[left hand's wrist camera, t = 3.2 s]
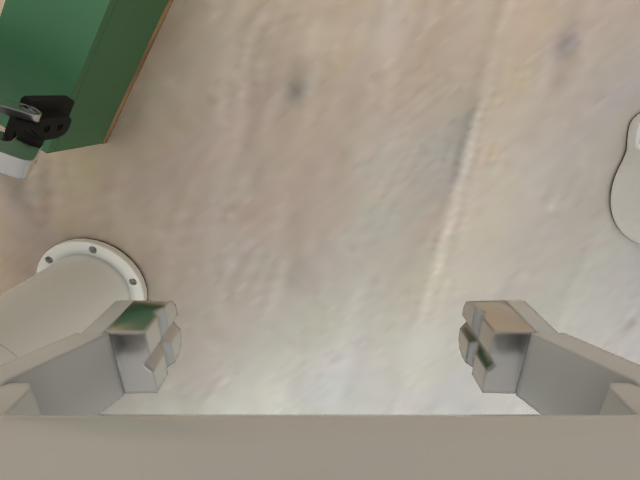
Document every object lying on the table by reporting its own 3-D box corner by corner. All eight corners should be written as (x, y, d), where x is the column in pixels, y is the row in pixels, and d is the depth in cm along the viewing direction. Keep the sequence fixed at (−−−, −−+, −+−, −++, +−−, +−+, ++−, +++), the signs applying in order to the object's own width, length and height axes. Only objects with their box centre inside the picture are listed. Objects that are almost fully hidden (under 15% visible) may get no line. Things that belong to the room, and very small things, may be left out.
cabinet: (122, -84, 30) (51, -148, 22) (188, -33, 31) (142, -77, 24) (48, 106, 36) (-30, 107, 28) (106, 143, 37) (47, 153, 29)
